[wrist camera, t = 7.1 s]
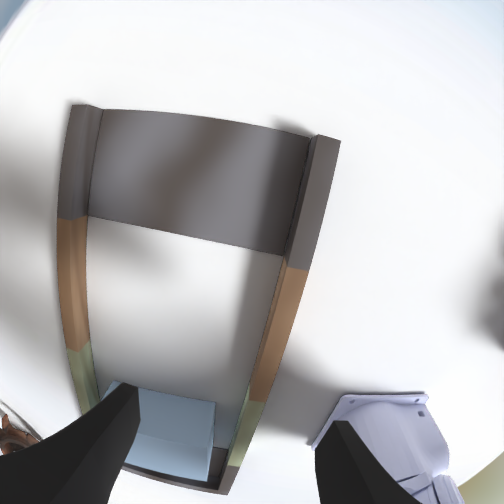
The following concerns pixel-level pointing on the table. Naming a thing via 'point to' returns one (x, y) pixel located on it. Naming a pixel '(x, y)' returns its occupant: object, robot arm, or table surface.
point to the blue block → (172, 434)
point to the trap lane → (192, 225)
